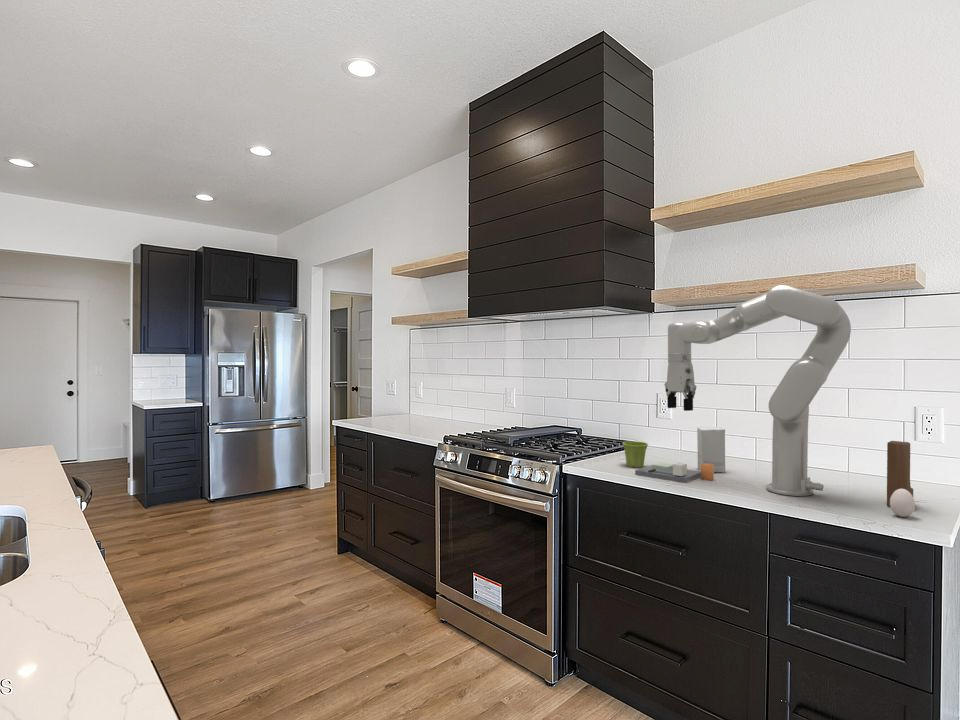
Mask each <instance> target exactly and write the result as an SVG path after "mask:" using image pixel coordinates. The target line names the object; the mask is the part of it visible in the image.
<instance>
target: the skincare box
mask: <svg viewBox="0 0 960 720" xmlns="http://www.w3.org/2000/svg"><path fill="white" fill-rule="evenodd" d="M696 428H697V429H696V431H697V434H696V436H697V439H696V440H697V471H701V464H702V463H709V464H713V465H714V472H722V474H723V473H726V429H725V428H722V427H718V426H710V427H709V426H707V427H706V426H704V427H703V426H701V427H699V426H697V427H696Z"/></svg>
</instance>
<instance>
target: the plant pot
mask: <svg viewBox="0 0 960 720" xmlns="http://www.w3.org/2000/svg"><path fill="white" fill-rule="evenodd" d="M622 446H623V449H624V455H625V463H626V464H625V465H626V467H628V466H629V468H635V467H641V468H644V465H645V460H646V459H645V458H646V452H647V449H648V448H647V447H648V446H649V443H648V442H643V441H637V440H635V441H631V440H630V441H623V442H622Z"/></svg>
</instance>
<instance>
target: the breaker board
mask: <svg viewBox="0 0 960 720" xmlns="http://www.w3.org/2000/svg"><path fill="white" fill-rule="evenodd" d="M652 465H653V464H651V465H648V466H645V467H644V466H643V467H641V468H637V469H635V470H634V471H635V473H634V475H636V476H640V477H641V476H642V477H648V478H653V479H659V480H666V481H671V480H672V481H671V482H677V481H678V483H683V484H686V483H688V482H689V483H690V482H691V481H694V480H696V479H698V478H701V471H700V470H695V469H688V468H687V474H686V475H683V476H677V475H673V468H672V469H669V470H665V469H659V468H652Z"/></svg>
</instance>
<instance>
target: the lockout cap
mask: <svg viewBox="0 0 960 720" xmlns="http://www.w3.org/2000/svg"><path fill="white" fill-rule="evenodd" d="M700 479H701V480H702V481H709V480H711V481H714V480H715V473H714V465H713V464H709V463H702V464H701V477H700Z"/></svg>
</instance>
